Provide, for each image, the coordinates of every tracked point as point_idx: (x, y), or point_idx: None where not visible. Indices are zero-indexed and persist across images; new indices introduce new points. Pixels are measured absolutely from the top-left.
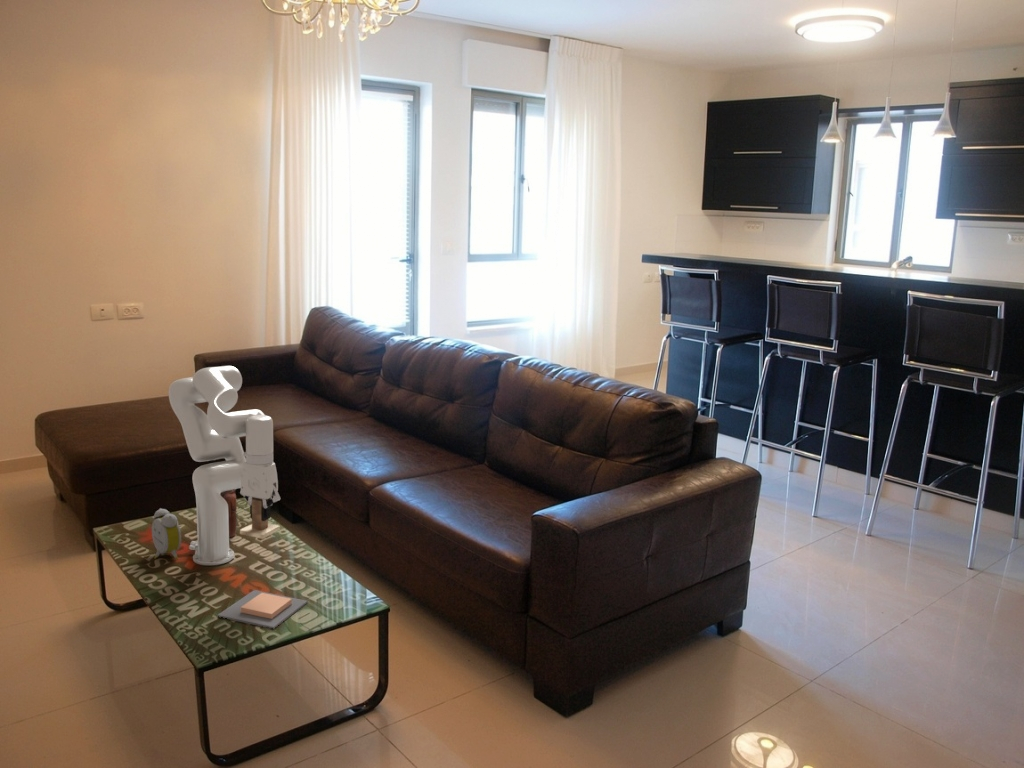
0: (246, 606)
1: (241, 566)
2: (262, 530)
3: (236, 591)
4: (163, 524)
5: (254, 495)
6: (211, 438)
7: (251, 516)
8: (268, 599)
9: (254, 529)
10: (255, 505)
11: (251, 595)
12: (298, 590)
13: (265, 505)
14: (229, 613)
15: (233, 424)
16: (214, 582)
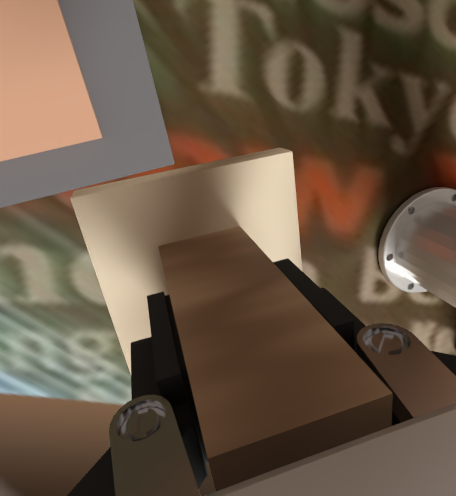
0: (39, 3)
1: (332, 254)
2: (152, 254)
3: (223, 129)
4: None
5: (356, 493)
6: None
7: (284, 267)
8: (29, 110)
9: (215, 229)
10: (283, 354)
11: (147, 127)
12: (68, 259)
13: (138, 437)
14: None
15: None
16: (324, 133)
